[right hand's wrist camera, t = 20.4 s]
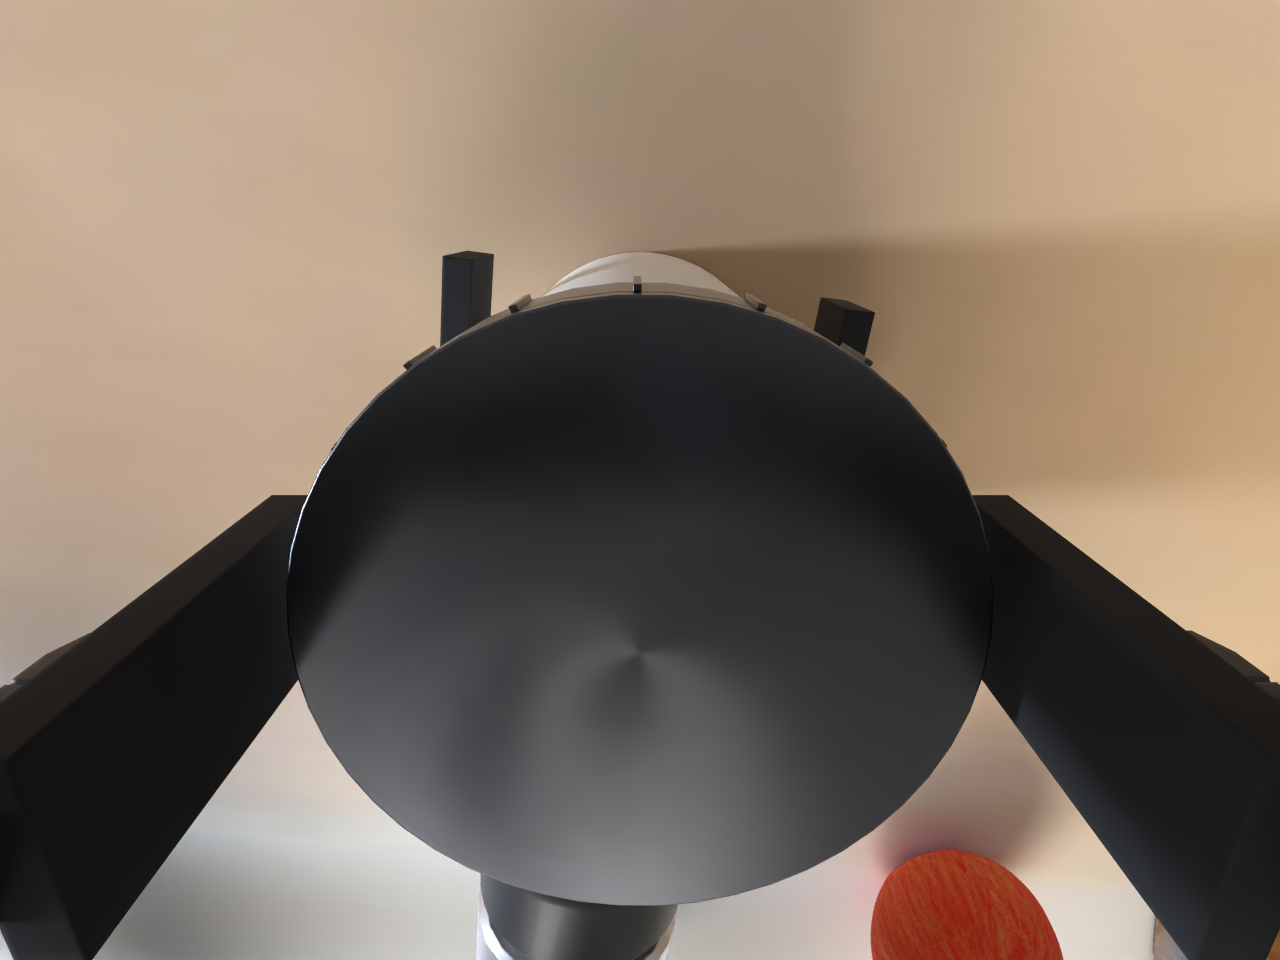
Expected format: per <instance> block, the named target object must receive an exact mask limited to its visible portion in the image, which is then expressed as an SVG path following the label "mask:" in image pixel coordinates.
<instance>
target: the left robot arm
mask: <svg viewBox="0 0 1280 960" xmlns="http://www.w3.org/2000/svg"><path fill="white" fill-rule="evenodd" d="M493 260H494V254H488V253H481V252H473V251H464V252H459V253H454V254H450V255H445V256H443V266H442V302H441V339H440V347H441V346H442V345H444V344H445V343H447V342H448V341H450V340H451V339H453V338H455V337H456V336H458V335H460V334H461V333H463V332H465V331H466V330H468V329H470V328H471V327H473V326H475V325H476V324H478V323H480V322H481V321H483V320H485V319H486V318H488V317H491V299H492V279H493ZM874 314H875V312H872V311H870V310H867V309H865V308H863V307H860V306H858V305H855V304H853V303H851V302H848V301H845V300H837V299H830V298H822V297H821V300H820V304H819V309H818V314H817V318H816V323H815V328H814V331H815V332H817V333H818V334H820V335H822V336H823V337H825V338H826V339H828V340H830V341H831V342H833V343H834V344H836V345H837V346H839V347H840V345H841V344H842V343H844V344H846V345H847V346H849V347H851V348H852V349H854V350H855V351H857V352H859V353H860V354H862V355H863V356H865V352H866V348H867V343H868V339H869V335H870V331H871V327H872V323H873V318H874ZM677 906H678V904H672V905H661V906H617V905H607V904H597V903H587V902H578V901H573V900H568V899H563V898H558V897H553V896H548V895H543V894H539V893H536V892H533V891H529V890H526V889H523V888H519V887H516V886H513V885H510V884H506V883H503V882H501V881H499V880H496V879H494V878H491V877H489V876H487V875H484V874H482V873H481V891H480V895H479V907H478V928H477V950H476V960H667V957H668V952H669V947H670V943H671V938H672V934H673V929H674V925H675V913H676V909H677Z"/></svg>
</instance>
